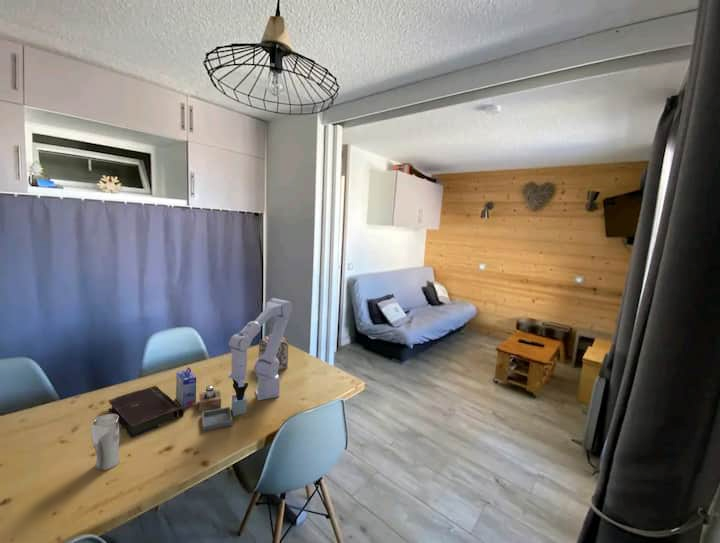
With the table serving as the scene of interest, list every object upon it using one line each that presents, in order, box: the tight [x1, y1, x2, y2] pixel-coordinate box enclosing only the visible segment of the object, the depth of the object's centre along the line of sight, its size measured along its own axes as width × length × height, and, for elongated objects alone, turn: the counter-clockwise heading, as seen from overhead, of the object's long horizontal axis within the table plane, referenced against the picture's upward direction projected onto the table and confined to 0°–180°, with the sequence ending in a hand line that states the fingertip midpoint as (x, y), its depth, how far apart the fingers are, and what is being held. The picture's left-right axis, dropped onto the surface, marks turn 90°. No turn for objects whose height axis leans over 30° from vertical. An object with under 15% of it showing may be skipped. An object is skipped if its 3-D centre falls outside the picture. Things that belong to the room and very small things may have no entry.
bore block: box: [198, 389, 222, 413], centre depth 136 cm, size 8×8×4 cm
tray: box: [201, 406, 233, 433], centre depth 125 cm, size 10×10×2 cm
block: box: [231, 392, 247, 416], centre depth 133 cm, size 5×5×6 cm
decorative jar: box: [258, 333, 289, 371], centre depth 173 cm, size 12×12×18 cm
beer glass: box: [91, 413, 121, 472], centre depth 100 cm, size 7×7×15 cm
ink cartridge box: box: [175, 366, 197, 409], centre depth 136 cm, size 10×6×14 cm, turn 45°
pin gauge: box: [205, 384, 215, 399], centre depth 135 cm, size 3×3×8 cm
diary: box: [107, 385, 185, 439], centre depth 127 cm, size 19×25×5 cm
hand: (238, 395), depth 132 cm, fingers open, 7 cm apart
